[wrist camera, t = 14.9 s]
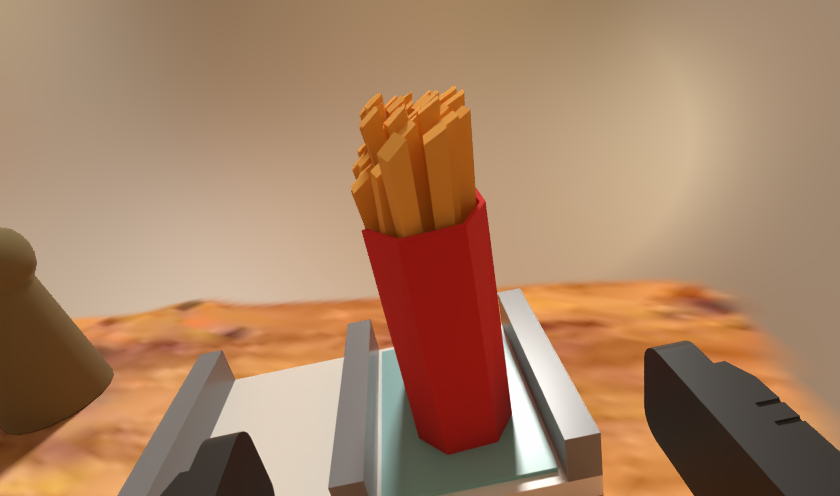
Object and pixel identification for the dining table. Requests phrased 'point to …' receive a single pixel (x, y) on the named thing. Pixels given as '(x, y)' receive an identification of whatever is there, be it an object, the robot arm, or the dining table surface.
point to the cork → (40, 348)
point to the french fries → (434, 265)
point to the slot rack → (382, 425)
